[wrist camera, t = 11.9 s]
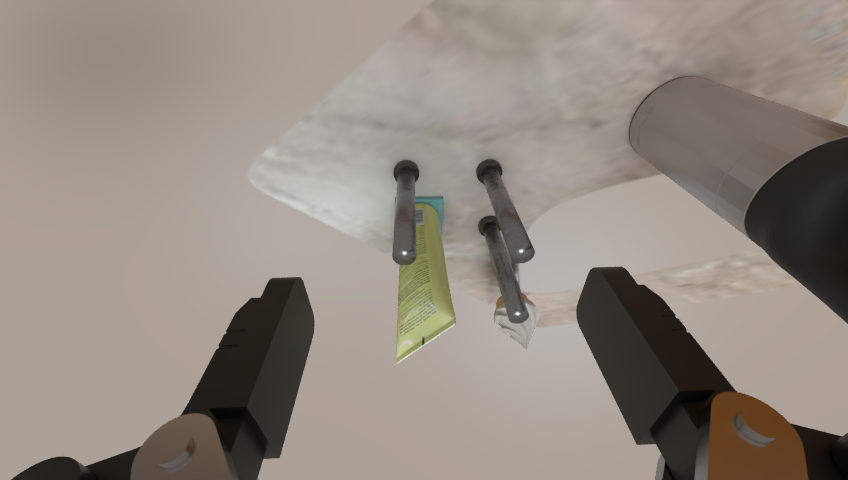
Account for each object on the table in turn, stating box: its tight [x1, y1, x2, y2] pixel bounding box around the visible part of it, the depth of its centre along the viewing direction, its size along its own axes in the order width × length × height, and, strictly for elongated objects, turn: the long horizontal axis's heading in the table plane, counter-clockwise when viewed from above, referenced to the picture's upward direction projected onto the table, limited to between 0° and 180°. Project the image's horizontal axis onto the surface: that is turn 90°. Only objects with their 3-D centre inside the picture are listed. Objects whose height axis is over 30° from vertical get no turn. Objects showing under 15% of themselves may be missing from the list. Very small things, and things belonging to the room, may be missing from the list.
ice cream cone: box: [494, 293, 540, 350], centre depth 45 cm, size 6×6×15 cm
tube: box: [396, 203, 456, 364], centre depth 38 cm, size 6×5×20 cm
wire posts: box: [393, 159, 535, 324], centre depth 38 cm, size 14×11×16 cm
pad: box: [395, 197, 443, 235], centre depth 46 cm, size 6×6×1 cm
